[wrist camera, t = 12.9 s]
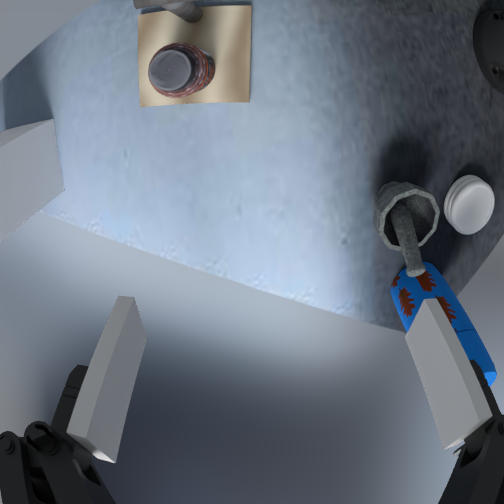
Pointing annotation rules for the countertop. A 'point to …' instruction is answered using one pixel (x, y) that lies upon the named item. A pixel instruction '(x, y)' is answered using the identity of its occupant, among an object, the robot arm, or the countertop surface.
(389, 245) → the mortar and pestle
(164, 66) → the supplement bottle
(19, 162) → the milk
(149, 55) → the headphone stand
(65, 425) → the robot arm
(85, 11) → the countertop surface
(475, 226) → the white round container
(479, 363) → the thermos
